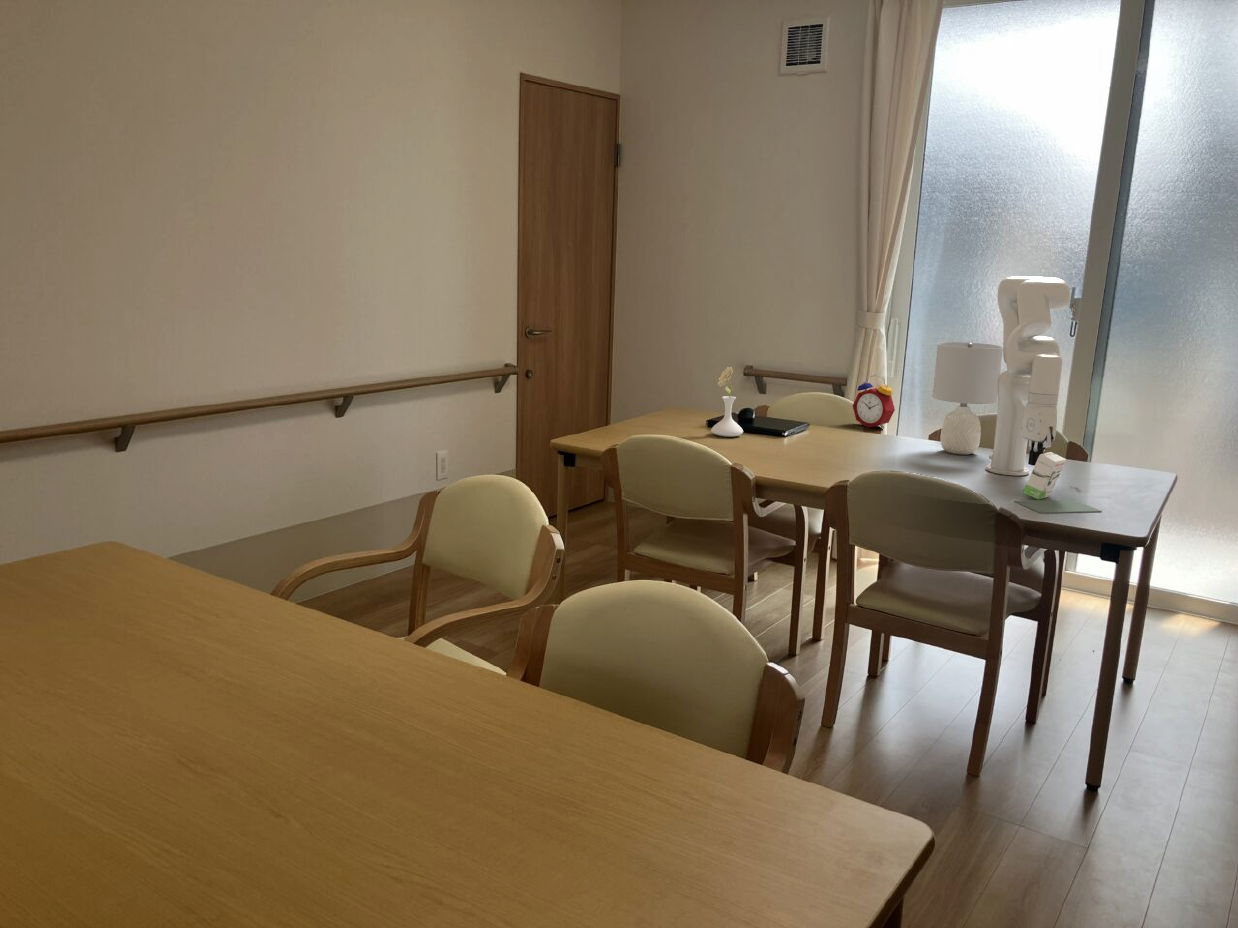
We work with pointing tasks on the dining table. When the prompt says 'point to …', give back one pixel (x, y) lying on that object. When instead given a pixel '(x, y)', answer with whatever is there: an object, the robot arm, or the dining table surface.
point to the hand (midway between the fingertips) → (1034, 464)
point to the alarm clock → (873, 405)
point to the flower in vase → (727, 410)
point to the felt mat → (1057, 506)
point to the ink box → (1044, 475)
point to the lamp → (965, 390)
